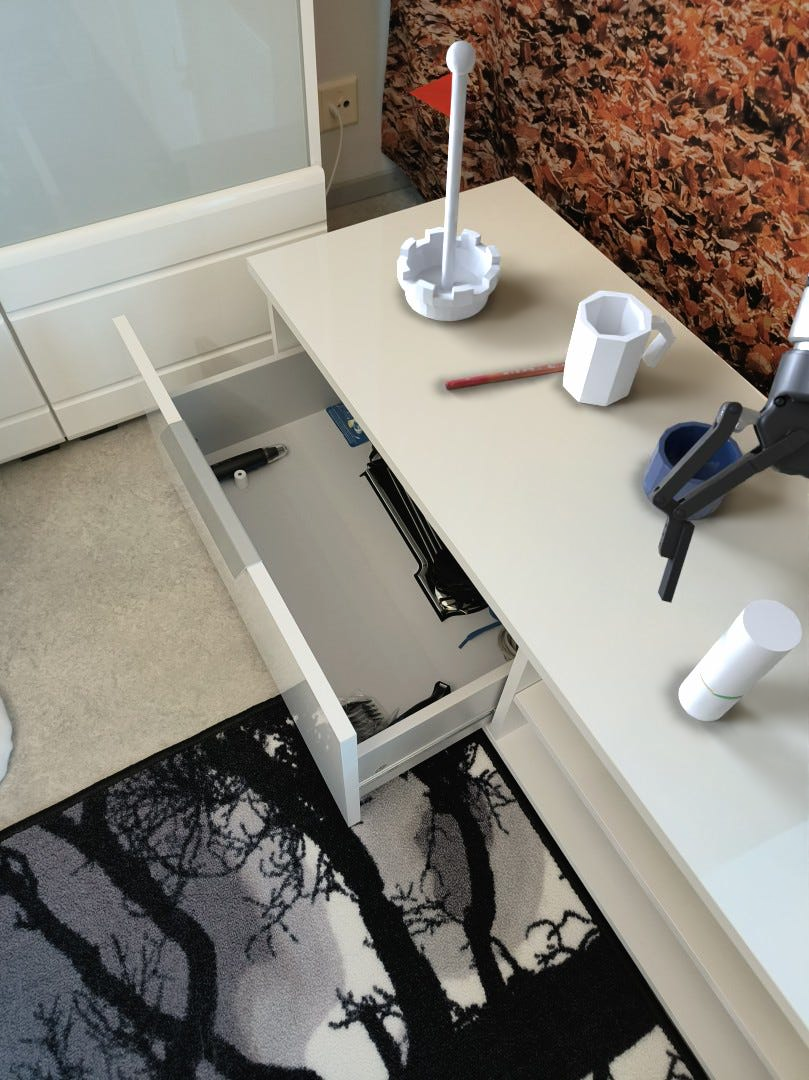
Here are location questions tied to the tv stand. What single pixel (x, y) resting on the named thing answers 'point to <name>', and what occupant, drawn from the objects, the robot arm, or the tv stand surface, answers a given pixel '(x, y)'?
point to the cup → (675, 448)
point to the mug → (611, 346)
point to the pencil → (505, 375)
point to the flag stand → (449, 220)
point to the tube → (740, 659)
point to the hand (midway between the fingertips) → (748, 619)
